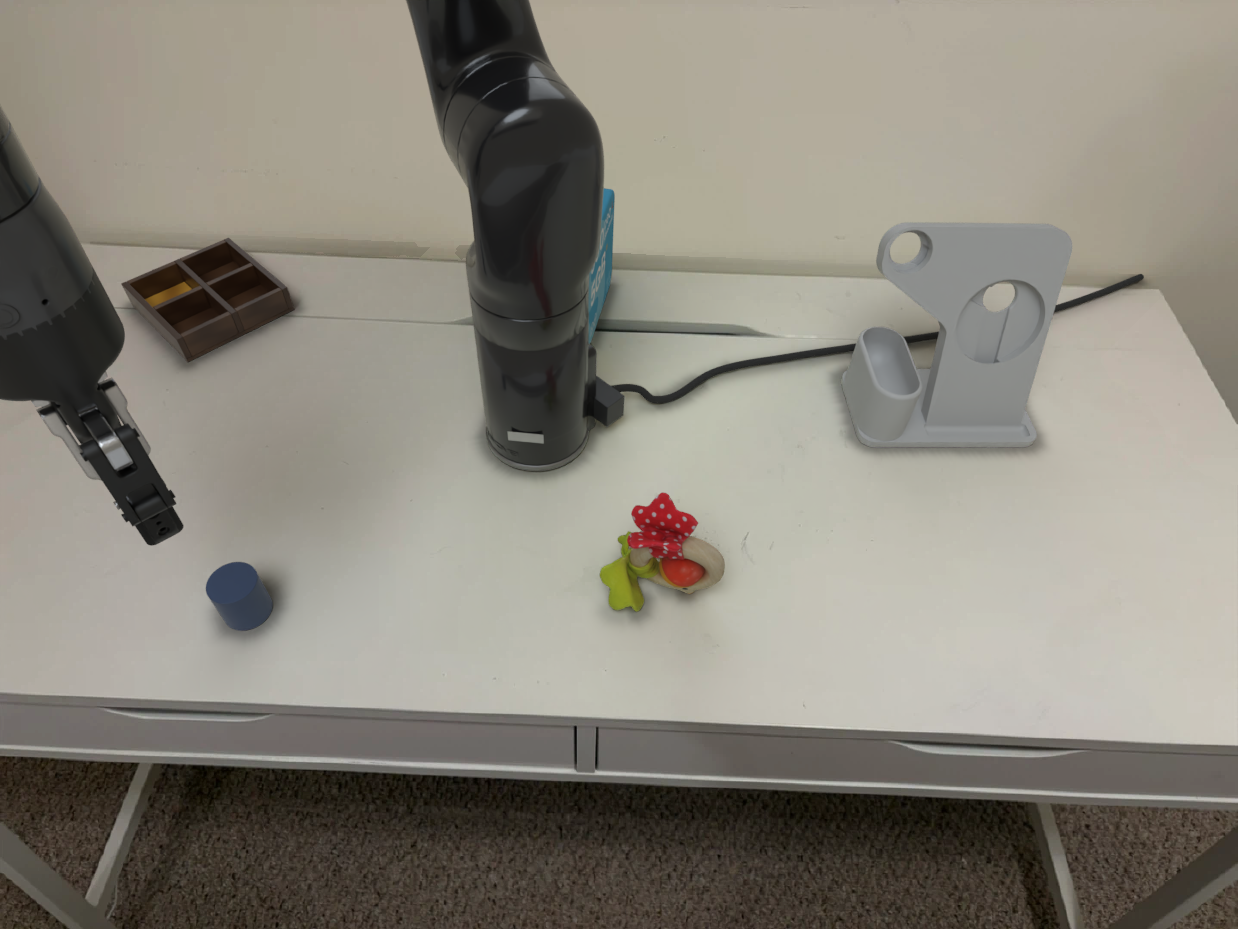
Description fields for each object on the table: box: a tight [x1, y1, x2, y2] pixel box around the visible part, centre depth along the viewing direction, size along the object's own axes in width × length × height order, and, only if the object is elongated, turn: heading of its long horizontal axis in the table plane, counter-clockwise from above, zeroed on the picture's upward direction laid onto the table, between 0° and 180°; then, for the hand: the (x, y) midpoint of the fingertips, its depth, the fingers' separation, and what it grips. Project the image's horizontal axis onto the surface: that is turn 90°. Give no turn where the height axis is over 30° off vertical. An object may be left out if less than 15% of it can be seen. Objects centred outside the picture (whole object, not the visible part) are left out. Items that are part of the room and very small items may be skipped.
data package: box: [588, 187, 616, 345], centre depth 83 cm, size 12×4×12 cm, turn 169°
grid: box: [121, 237, 295, 363], centre depth 85 cm, size 12×12×3 cm
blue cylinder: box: [205, 561, 274, 632], centre depth 62 cm, size 4×4×4 cm
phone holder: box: [840, 221, 1073, 448], centre depth 73 cm, size 17×10×18 cm, turn 92°
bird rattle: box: [599, 492, 726, 613], centre depth 62 cm, size 6×11×9 cm
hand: (137, 493), depth 52 cm, fingers open, 8 cm apart
